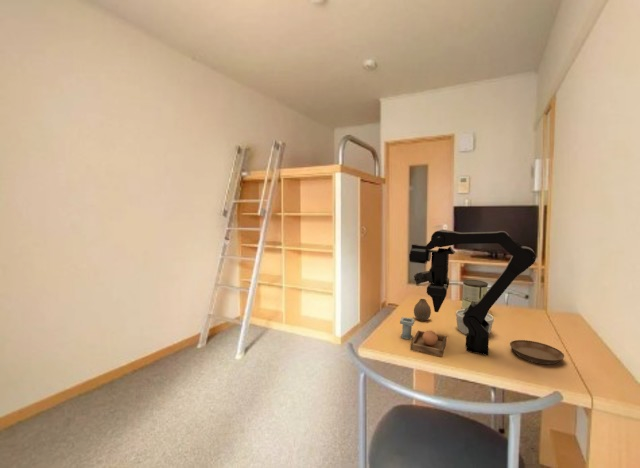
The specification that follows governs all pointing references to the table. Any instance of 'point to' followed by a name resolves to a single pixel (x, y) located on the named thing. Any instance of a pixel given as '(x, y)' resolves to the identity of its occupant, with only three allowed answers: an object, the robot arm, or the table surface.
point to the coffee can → (473, 291)
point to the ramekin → (463, 328)
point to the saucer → (536, 352)
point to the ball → (430, 338)
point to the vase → (422, 310)
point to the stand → (406, 327)
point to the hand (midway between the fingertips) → (437, 308)
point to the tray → (421, 347)
